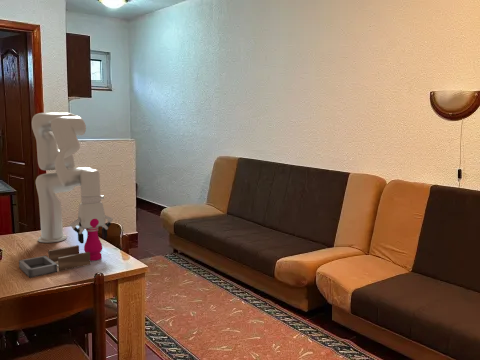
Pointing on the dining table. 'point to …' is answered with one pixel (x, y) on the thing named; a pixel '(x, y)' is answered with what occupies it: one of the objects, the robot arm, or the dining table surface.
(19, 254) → the dining table surface
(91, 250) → the pepper mill
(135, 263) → the dining table surface
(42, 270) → the tray
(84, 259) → the walled lane
